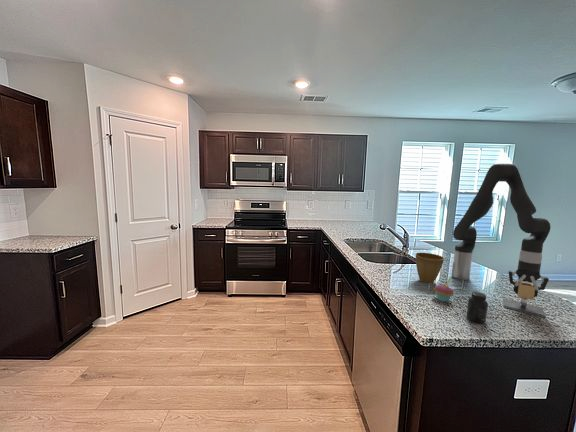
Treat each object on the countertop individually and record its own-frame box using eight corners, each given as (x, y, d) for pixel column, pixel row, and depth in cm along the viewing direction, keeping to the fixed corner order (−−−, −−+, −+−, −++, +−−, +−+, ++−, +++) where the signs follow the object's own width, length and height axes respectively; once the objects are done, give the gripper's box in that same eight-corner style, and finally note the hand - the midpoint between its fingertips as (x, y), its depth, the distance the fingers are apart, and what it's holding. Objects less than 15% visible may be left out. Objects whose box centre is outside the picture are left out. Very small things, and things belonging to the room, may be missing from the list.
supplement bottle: (462, 316, 110) (465, 290, 109) (476, 316, 111) (479, 290, 109) (474, 325, 103) (478, 297, 102) (490, 324, 104) (493, 297, 103)
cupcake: (450, 297, 129) (452, 275, 128) (455, 304, 121) (457, 281, 120) (431, 294, 132) (433, 272, 131) (435, 301, 124) (437, 278, 123)
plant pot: (414, 283, 146) (416, 257, 144) (412, 275, 160) (414, 251, 158) (443, 288, 141) (446, 260, 139) (438, 279, 155) (441, 254, 153)
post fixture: (504, 307, 119) (505, 295, 119) (503, 300, 127) (504, 289, 126) (545, 317, 111) (547, 304, 110) (541, 309, 118) (543, 297, 118)
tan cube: (517, 296, 118) (519, 284, 117) (516, 292, 122) (518, 281, 121) (533, 300, 114) (535, 287, 114) (531, 296, 118) (533, 284, 118)
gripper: (509, 259, 118) (505, 293, 120) (553, 265, 109) (547, 302, 111) (508, 255, 123) (504, 288, 125) (550, 261, 114) (545, 297, 116)
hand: (524, 294), depth 118 cm, fingers closed on tan cube, 5 cm apart
